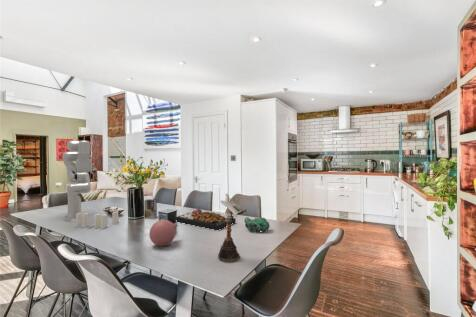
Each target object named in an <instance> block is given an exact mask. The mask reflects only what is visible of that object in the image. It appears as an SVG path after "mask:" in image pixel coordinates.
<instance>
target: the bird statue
mask: <svg viewBox="0 0 476 317" xmlns="http://www.w3.org/2000/svg"><path fill="white" fill-rule="evenodd" d="M235 199H236V198H235V196H234V195H233V196H232V198H231V197H230V196H229V194H228V193H225V200H220V203H221V204H222V205H223V206H225V207H226V208H227V212H226V213H225V217H224V216H223V217H224V218H225V222H227V227H226V229H225V230H226V236H225V237H224V239H223V243H222V244H221V246H220V249H219V251H218V255H217V258H218V261H219V260H220V261H219V262H222V261H223V263H226V262H228V263H236V262H238V259H239V260H240V259H241V255H240V253H239V252H238V250H237V246H236V244H235V243H234V241H233V236H232V228H231V227H232V225H231V222H233V218H237V217H238V216H239V215H242V214H244V213H246V212H247V208H243V207H242V206H240V205H239V204H238V203H237V202H236V201H235ZM235 261H236V262H235Z"/></svg>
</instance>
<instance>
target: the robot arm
mask: <svg viewBox="0 0 476 317" xmlns="http://www.w3.org/2000/svg"><path fill="white" fill-rule="evenodd" d="M66 148H67V150H68V151H65V152H63V154H62V162H63V164H64V166H65V167H66V176H67V180H68V182H69V183H68V184H67V186H66V194H67V214H66V215H64V217H65V219H64V220H65V221H66V222H74V221H75V222H76V214H77V213H81V212H82V198H81V196H80V195H79V194H87V193H90V192H91V190H92V187H91V185H92V184H91V180H93V179H94V174H95V173H96V171H98V168H97V167H96V166H93V165H92V159H91V158H92V157H93V155H91V143H90V141H89V140H69V141H67V143H66ZM89 173H90V174H89Z"/></svg>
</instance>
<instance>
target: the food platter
mask: <svg viewBox="0 0 476 317" xmlns="http://www.w3.org/2000/svg"><path fill="white" fill-rule="evenodd" d="M225 216H226V215H225ZM225 216H223V215H221V214H220V213H215V212H214V211H213V212H209V211H202V209H201V207H199V208H196V209H194V208H193V211H189V212H185V213H183V214H182V215H177V216H175V217H176V220H177V222H180V223H179V224H182V223H185V224H184V225H187V224H190V225H189V226H192V225H195V226H194V227H197V226H199V227H198V228H202V227H205V228H204V229H206V228H209V229H208V230H211V229H214V230H213V231H216V230H219V229H221V230H223V229H225V228H224V227H226V226H227V222H225V218H224V217H225ZM177 222H176V223H177ZM235 222H236V217H234V218H233V222H231V224H232V223H235ZM235 224H236V223H235ZM222 228H223V229H222ZM226 228H227V227H226ZM219 231H220V230H219Z"/></svg>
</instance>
